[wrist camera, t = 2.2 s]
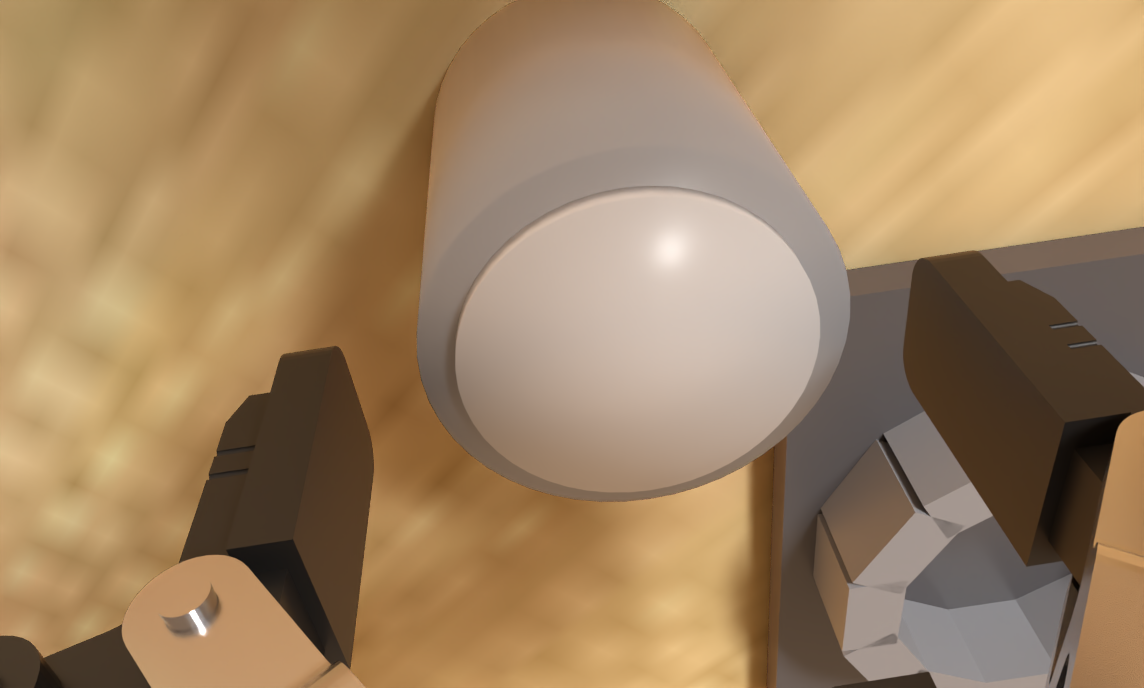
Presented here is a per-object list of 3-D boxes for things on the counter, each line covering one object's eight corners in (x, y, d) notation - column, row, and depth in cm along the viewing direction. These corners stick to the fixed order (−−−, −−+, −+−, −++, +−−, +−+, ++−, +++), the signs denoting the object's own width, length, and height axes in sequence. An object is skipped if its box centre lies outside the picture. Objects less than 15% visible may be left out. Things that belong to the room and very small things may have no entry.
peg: (403, 7, 16) (365, 196, 10) (728, -40, 16) (877, 124, 10) (463, 281, 19) (460, 541, 14) (730, 242, 19) (842, 485, 14)
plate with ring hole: (779, 279, 20) (828, 373, 17) (1309, 203, 20) (1441, 284, 17) (766, 687, 30) (796, 789, 27) (1126, 634, 30) (1192, 730, 27)
